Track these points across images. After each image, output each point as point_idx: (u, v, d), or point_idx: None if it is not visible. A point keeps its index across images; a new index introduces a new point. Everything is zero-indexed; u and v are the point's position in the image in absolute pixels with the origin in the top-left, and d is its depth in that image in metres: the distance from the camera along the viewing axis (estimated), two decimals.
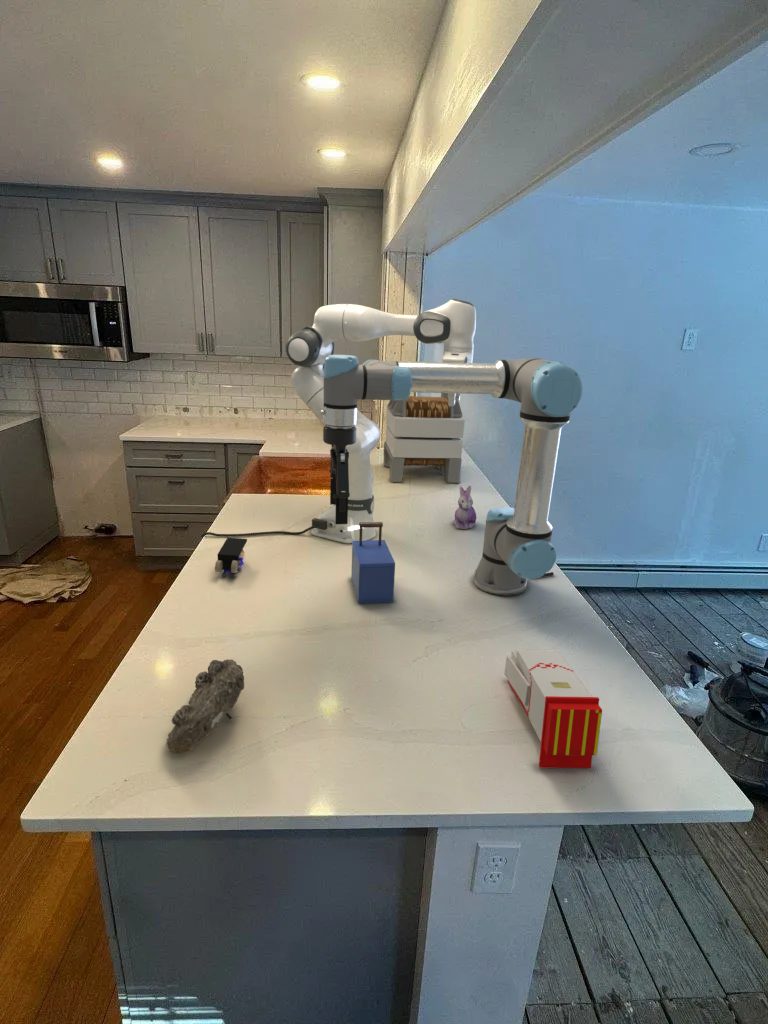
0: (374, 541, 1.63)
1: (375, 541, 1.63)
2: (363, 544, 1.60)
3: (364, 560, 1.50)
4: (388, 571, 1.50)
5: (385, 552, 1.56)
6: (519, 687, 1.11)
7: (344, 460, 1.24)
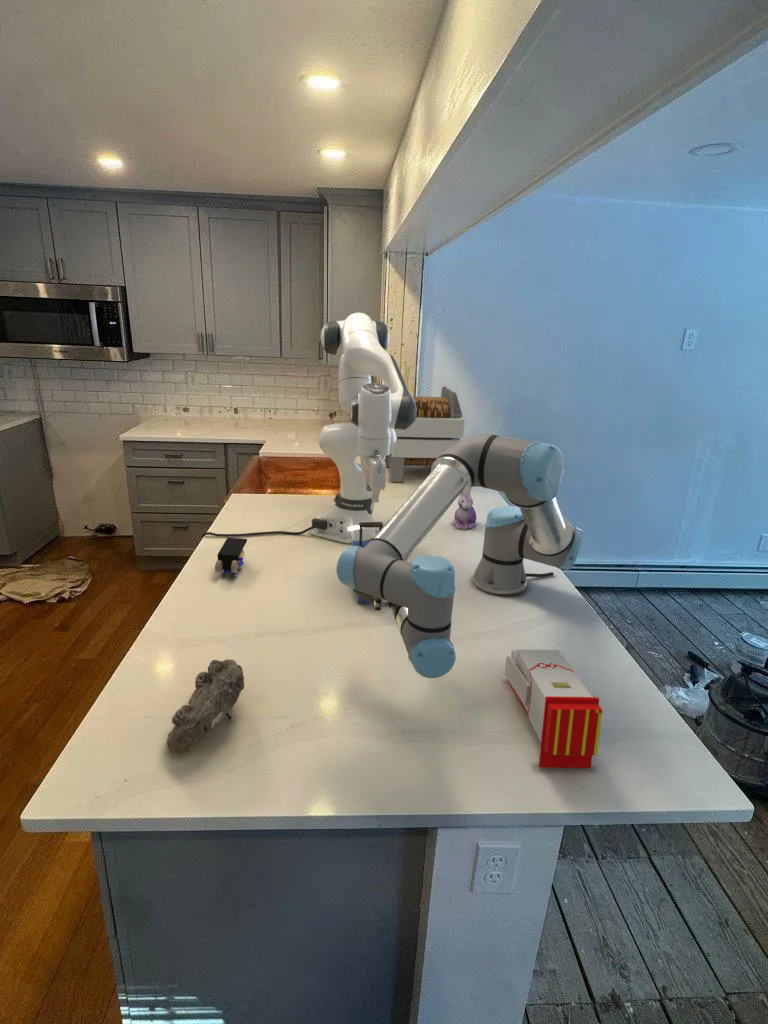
0: None
1: None
2: (363, 544, 1.60)
3: None
4: None
5: None
6: (519, 687, 1.11)
7: None
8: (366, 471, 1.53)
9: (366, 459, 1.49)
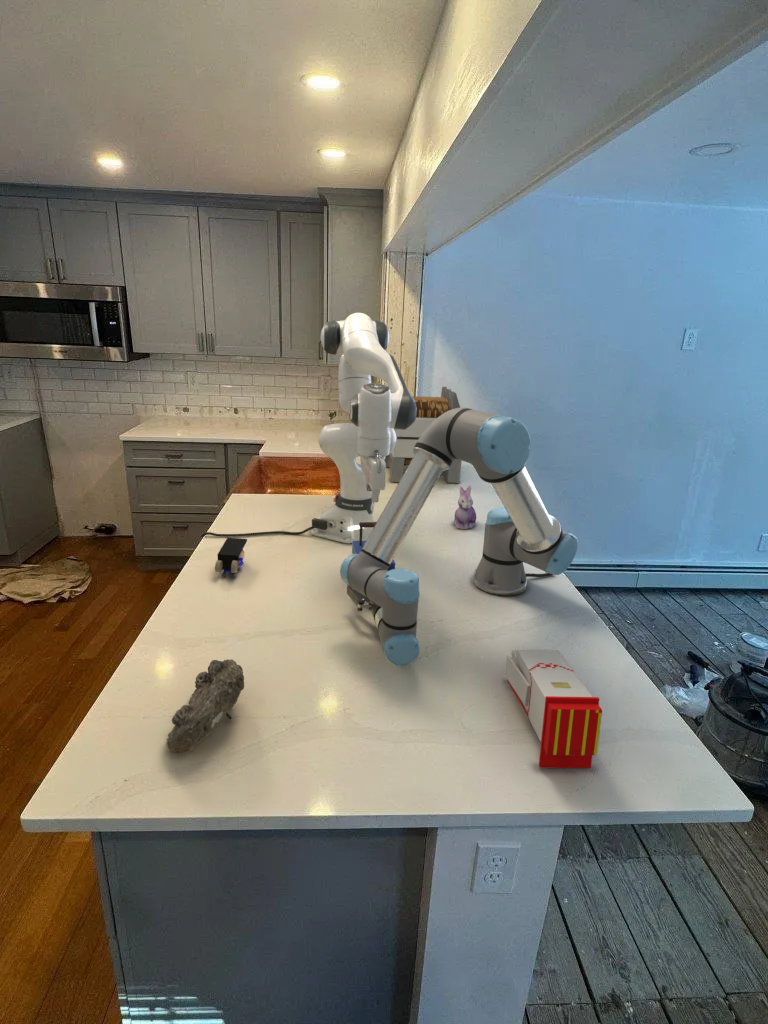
0: None
1: None
2: (363, 544, 1.60)
3: None
4: None
5: None
6: (519, 687, 1.11)
7: None
8: (366, 471, 1.53)
9: (366, 459, 1.49)
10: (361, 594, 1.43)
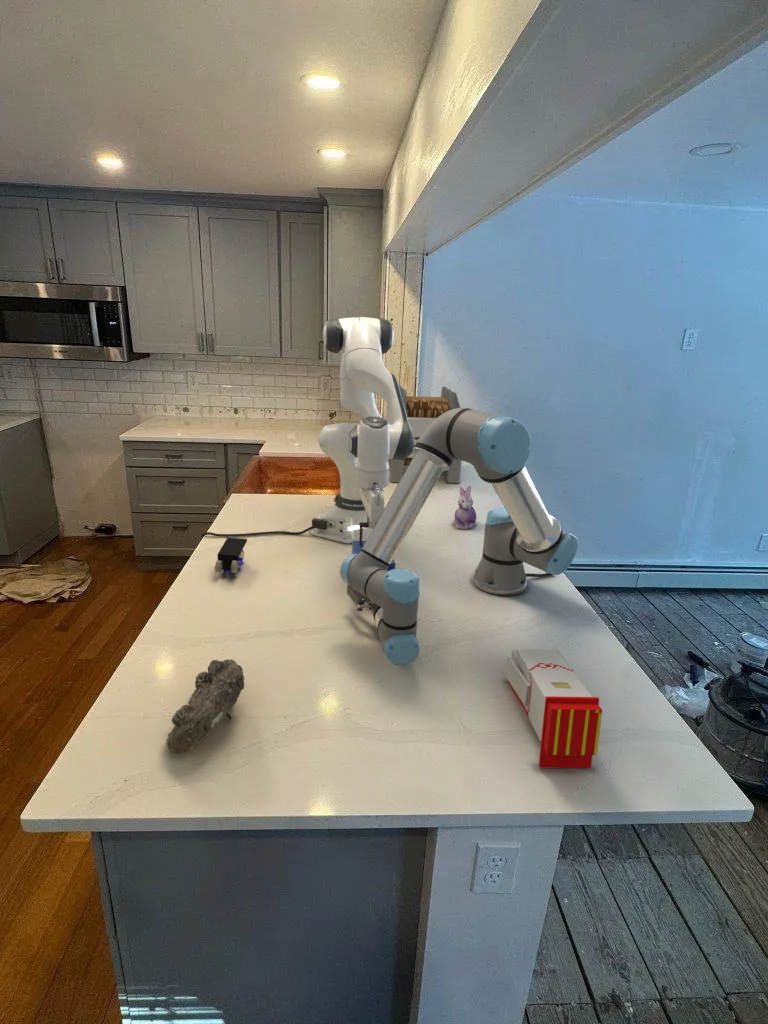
0: None
1: None
2: (363, 544, 1.60)
3: None
4: None
5: None
6: (519, 687, 1.11)
7: None
8: (365, 502, 1.56)
9: (365, 491, 1.52)
10: (361, 594, 1.43)
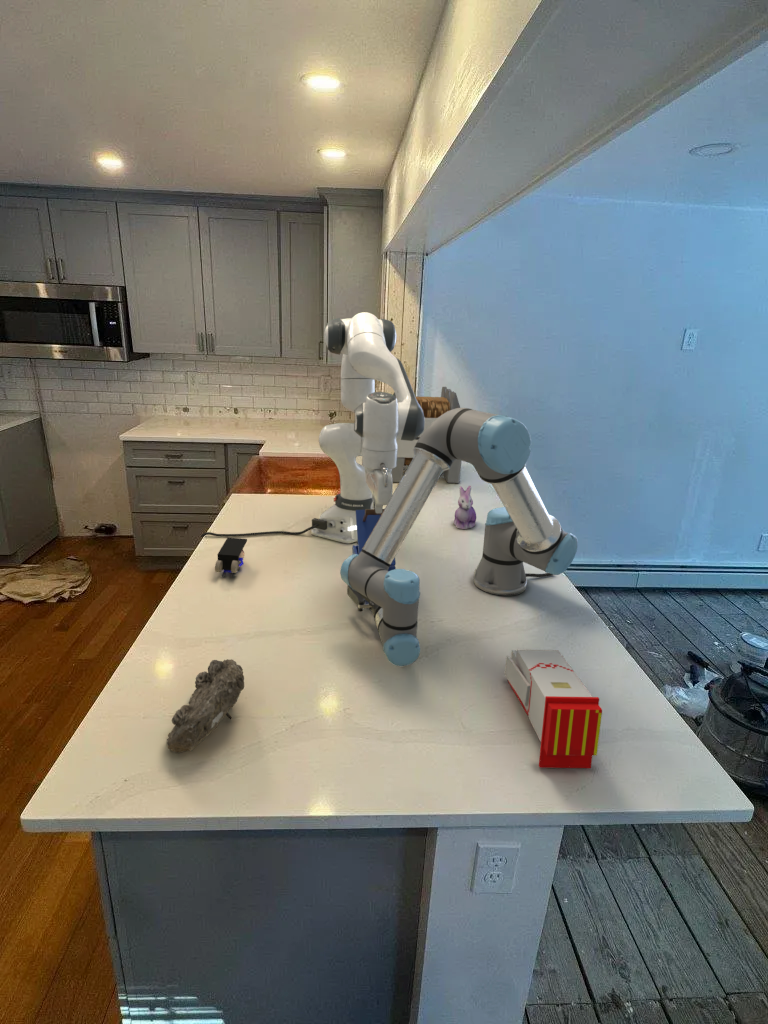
0: None
1: None
2: (366, 520, 1.53)
3: None
4: None
5: None
6: (519, 687, 1.11)
7: None
8: (371, 484, 1.45)
9: (371, 472, 1.41)
10: (361, 594, 1.43)
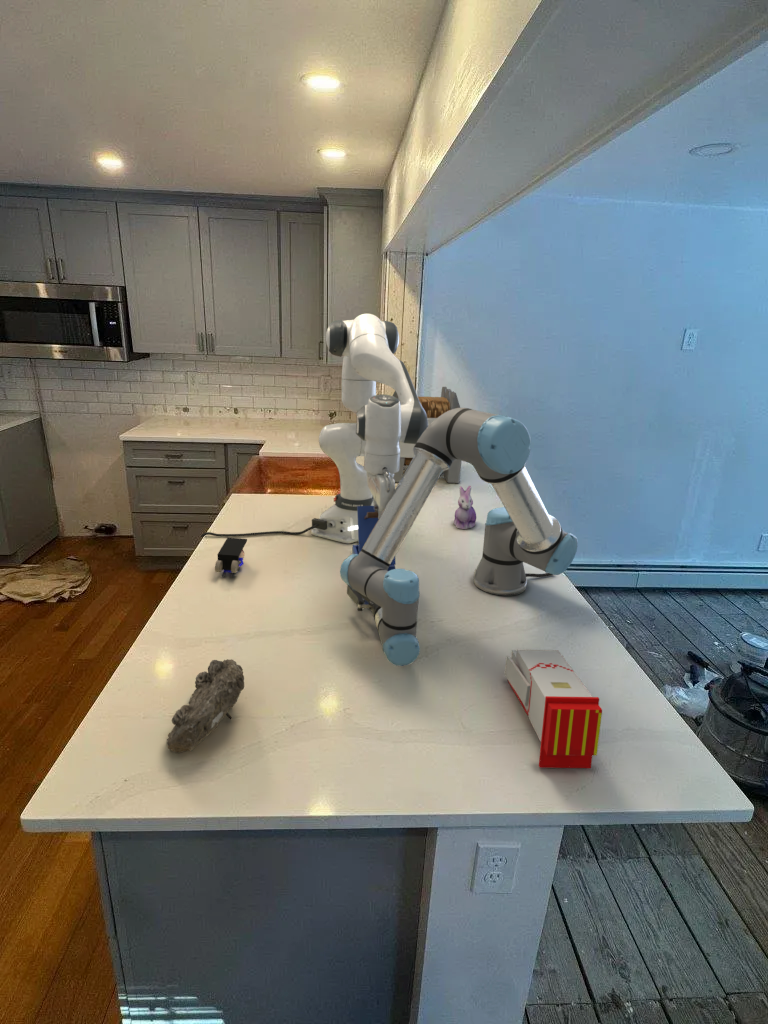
0: None
1: None
2: (368, 517, 1.50)
3: None
4: None
5: None
6: (519, 687, 1.11)
7: None
8: (373, 489, 1.41)
9: (373, 476, 1.38)
10: (361, 594, 1.43)
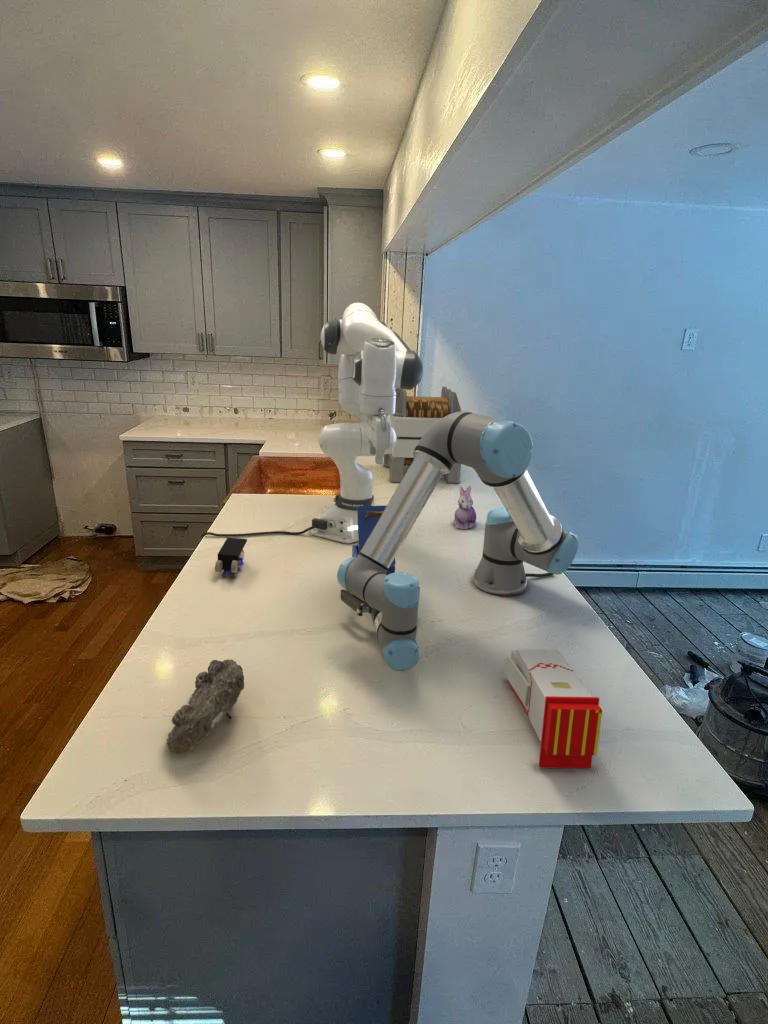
0: (381, 509, 1.51)
1: (382, 509, 1.51)
2: (368, 517, 1.50)
3: None
4: (388, 571, 1.50)
5: None
6: (519, 687, 1.11)
7: None
8: (370, 432, 1.45)
9: (370, 418, 1.42)
10: None
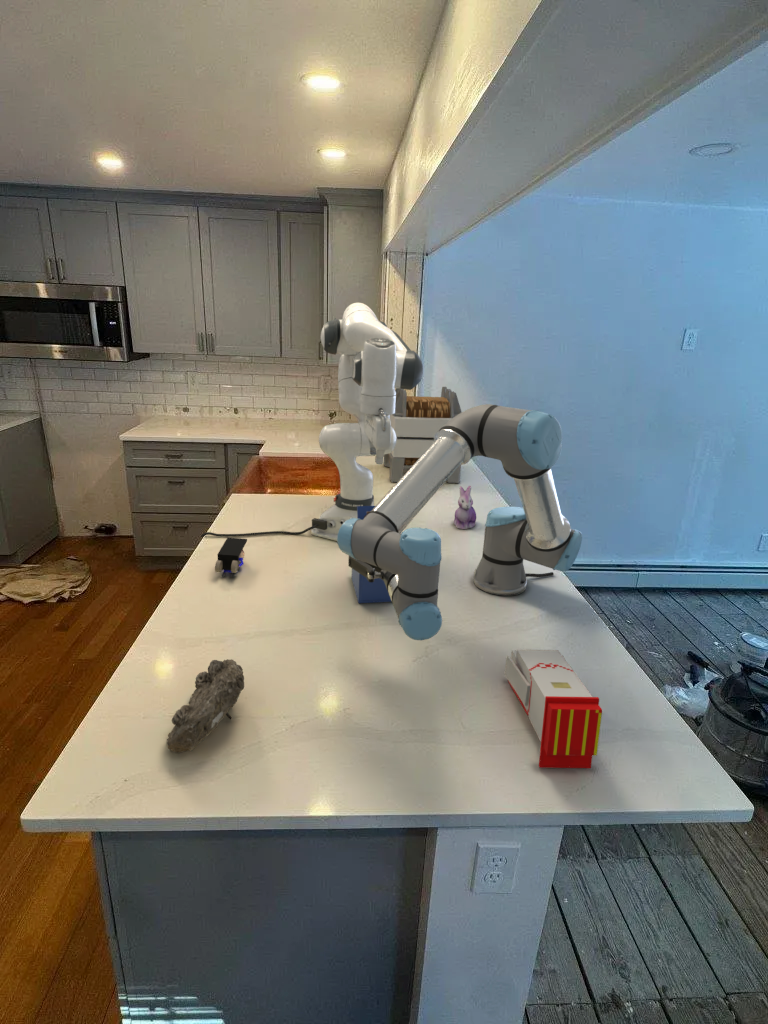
0: None
1: None
2: None
3: None
4: None
5: None
6: (519, 687, 1.11)
7: None
8: (370, 432, 1.45)
9: (370, 418, 1.42)
10: None
